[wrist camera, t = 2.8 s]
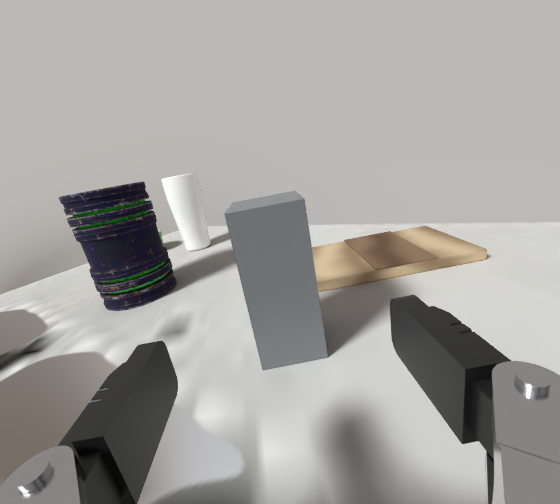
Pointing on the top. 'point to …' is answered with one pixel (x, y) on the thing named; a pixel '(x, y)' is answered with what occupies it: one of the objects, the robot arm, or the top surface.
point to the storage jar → (121, 244)
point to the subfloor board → (390, 256)
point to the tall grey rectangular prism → (278, 278)
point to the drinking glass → (187, 209)
